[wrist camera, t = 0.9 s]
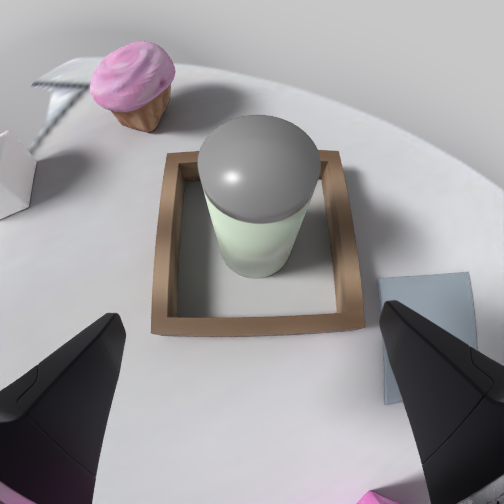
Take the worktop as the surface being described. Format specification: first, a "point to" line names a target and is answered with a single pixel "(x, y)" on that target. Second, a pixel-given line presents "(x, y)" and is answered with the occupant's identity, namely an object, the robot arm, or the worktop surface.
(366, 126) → the worktop surface
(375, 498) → the gum box
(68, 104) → the worktop surface
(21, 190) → the medicine bottle
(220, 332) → the walnut frame
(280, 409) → the worktop surface
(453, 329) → the rubber mat
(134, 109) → the cupcake
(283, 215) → the plastic jar
